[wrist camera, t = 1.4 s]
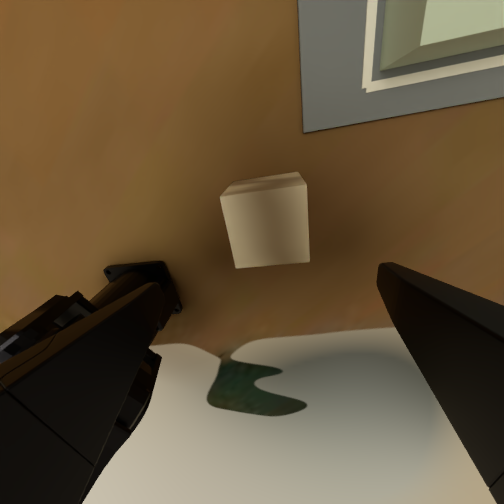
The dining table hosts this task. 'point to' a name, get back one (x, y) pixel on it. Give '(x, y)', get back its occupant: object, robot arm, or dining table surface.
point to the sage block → (438, 29)
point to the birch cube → (267, 220)
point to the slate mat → (378, 69)
